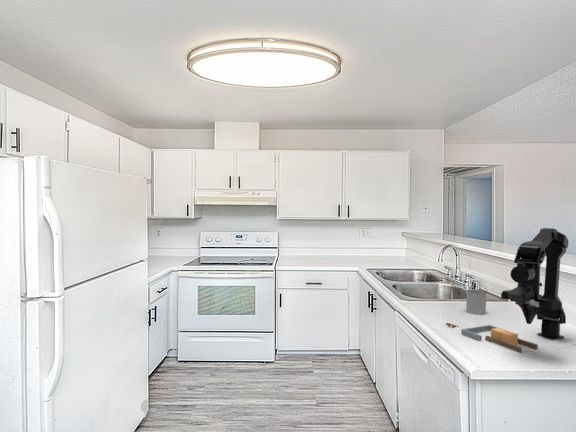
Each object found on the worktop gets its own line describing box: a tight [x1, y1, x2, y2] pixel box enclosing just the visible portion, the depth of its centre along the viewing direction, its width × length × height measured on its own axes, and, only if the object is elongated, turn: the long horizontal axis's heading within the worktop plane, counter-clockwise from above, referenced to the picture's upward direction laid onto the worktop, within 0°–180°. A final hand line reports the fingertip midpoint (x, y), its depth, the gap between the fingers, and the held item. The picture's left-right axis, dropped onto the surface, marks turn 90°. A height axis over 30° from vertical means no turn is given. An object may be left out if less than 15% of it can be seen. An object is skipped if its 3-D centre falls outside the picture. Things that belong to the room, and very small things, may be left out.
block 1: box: [490, 327, 507, 340], centre depth 155 cm, size 4×4×4 cm
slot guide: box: [484, 335, 538, 353], centre depth 151 cm, size 9×14×2 cm
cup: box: [465, 289, 487, 316], centre depth 195 cm, size 8×8×10 cm
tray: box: [460, 324, 508, 342], centre depth 161 cm, size 16×9×2 cm, turn 114°
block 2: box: [500, 330, 519, 346], centre depth 152 cm, size 4×4×4 cm
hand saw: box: [445, 322, 460, 329], centre depth 181 cm, size 24×5×1 cm, turn 31°
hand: (528, 323), depth 145 cm, fingers closed
